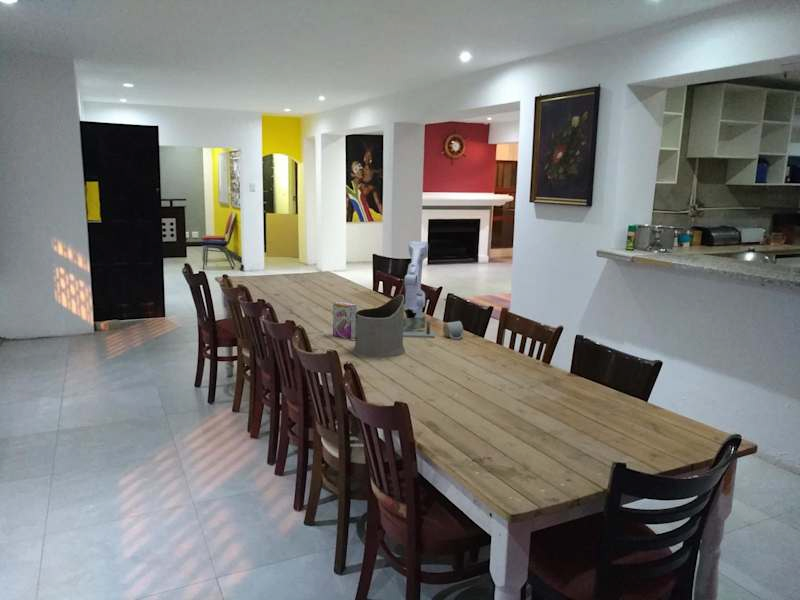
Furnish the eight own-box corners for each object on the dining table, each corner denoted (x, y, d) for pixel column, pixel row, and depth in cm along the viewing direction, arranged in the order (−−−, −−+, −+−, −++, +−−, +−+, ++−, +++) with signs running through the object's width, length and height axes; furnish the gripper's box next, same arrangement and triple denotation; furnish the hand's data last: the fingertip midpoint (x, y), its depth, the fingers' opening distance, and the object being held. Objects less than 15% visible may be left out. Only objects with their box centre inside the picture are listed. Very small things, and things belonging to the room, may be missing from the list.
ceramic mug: (442, 335, 304) (442, 320, 302) (457, 334, 306) (458, 319, 304) (450, 341, 294) (450, 325, 292) (465, 340, 296) (466, 324, 295)
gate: (401, 331, 304) (402, 319, 302) (400, 330, 305) (400, 319, 304) (424, 328, 311) (425, 317, 310) (423, 327, 312) (423, 316, 311)
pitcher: (411, 356, 265) (413, 300, 260) (339, 360, 256) (339, 302, 252) (397, 343, 287) (398, 290, 282) (330, 346, 278) (330, 292, 273)
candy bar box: (332, 336, 297) (332, 302, 294) (338, 334, 301) (338, 301, 298) (350, 339, 291) (351, 305, 288) (357, 337, 296) (357, 304, 292)
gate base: (393, 332, 306) (394, 319, 305) (433, 334, 306) (434, 320, 304) (393, 336, 298) (393, 322, 297) (434, 337, 298) (434, 323, 297)
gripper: (399, 295, 314) (398, 321, 317) (407, 300, 301) (407, 327, 303) (412, 295, 316) (411, 320, 319) (421, 300, 303) (420, 326, 305)
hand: (410, 324), depth 311 cm, fingers closed
